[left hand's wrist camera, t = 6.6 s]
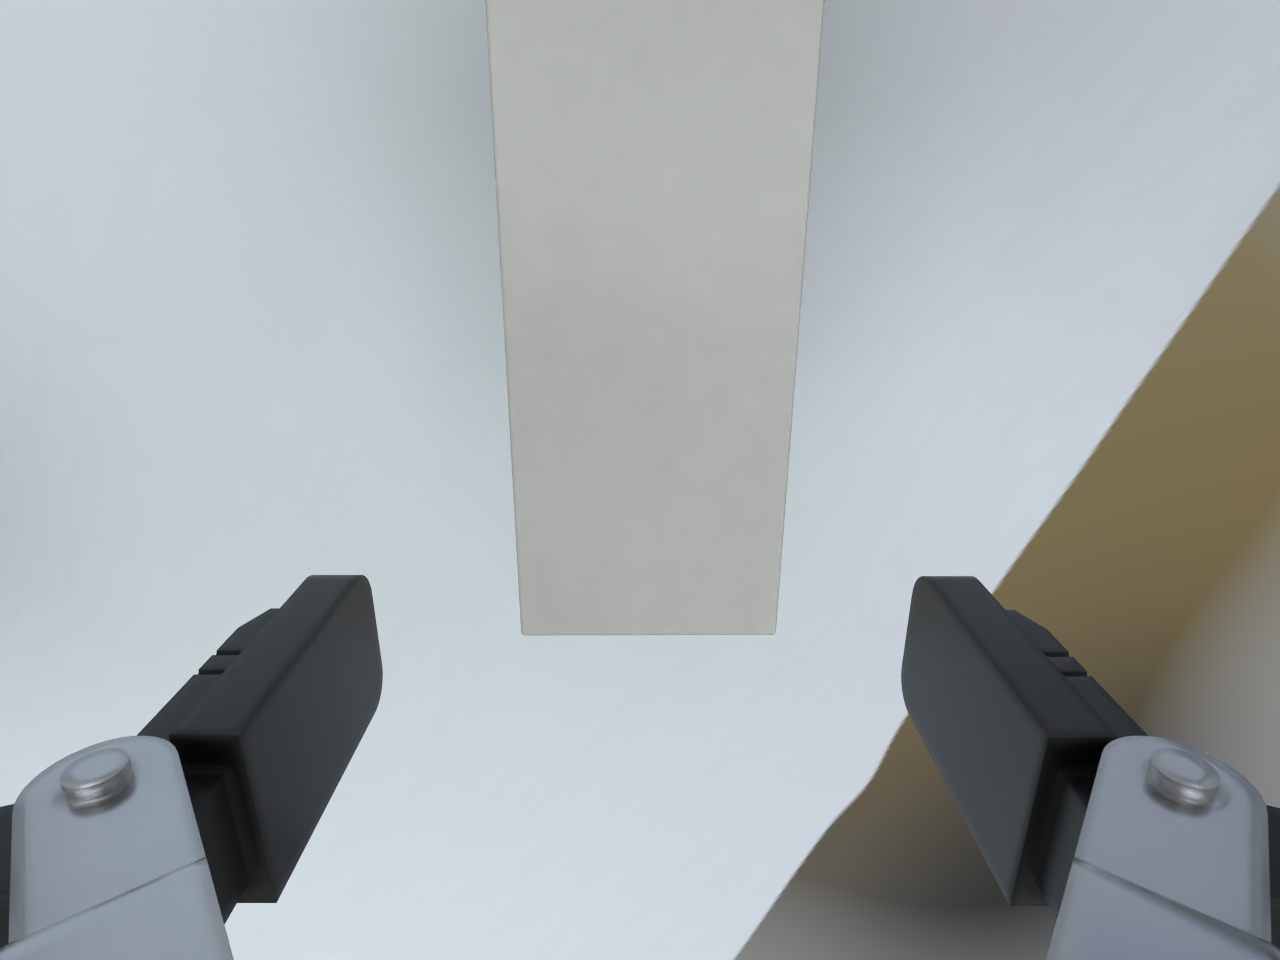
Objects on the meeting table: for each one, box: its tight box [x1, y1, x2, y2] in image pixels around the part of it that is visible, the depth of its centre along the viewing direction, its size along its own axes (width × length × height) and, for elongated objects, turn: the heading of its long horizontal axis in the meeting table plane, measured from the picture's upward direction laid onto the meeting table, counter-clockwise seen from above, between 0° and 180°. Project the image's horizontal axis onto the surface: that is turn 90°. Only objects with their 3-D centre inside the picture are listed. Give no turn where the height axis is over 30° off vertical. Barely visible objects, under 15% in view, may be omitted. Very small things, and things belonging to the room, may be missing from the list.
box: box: [486, 0, 824, 635], centre depth 18 cm, size 24×6×11 cm, turn 0°
